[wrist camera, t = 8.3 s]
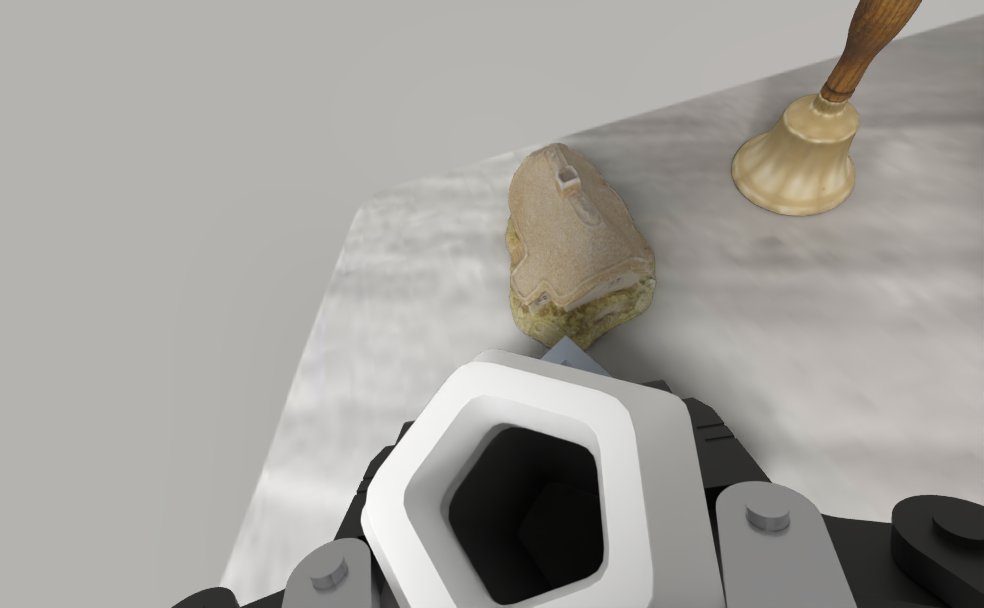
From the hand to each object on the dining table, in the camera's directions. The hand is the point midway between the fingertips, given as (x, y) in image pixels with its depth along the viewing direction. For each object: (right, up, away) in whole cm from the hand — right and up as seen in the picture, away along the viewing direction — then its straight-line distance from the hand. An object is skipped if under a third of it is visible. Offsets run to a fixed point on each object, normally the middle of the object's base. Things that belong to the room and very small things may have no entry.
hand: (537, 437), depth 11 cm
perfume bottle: (+2, -5, +6) cm, 8 cm away
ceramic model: (+5, +6, +25) cm, 26 cm away
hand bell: (+22, +13, +25) cm, 35 cm away
